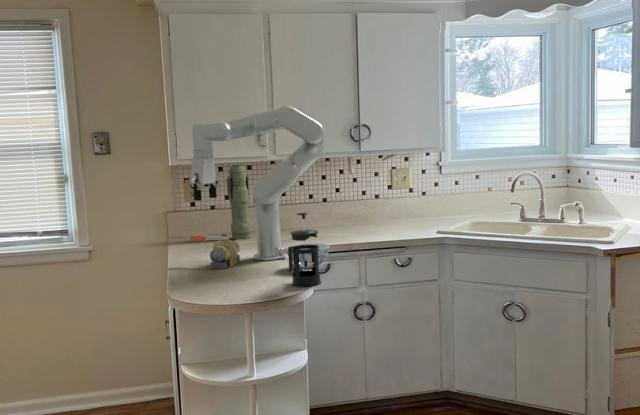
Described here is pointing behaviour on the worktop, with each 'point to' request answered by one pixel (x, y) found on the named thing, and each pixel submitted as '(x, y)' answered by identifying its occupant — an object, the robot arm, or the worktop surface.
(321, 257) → the chinaware
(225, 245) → the ball valve
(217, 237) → the valve lever
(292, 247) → the french press
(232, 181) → the green piece
